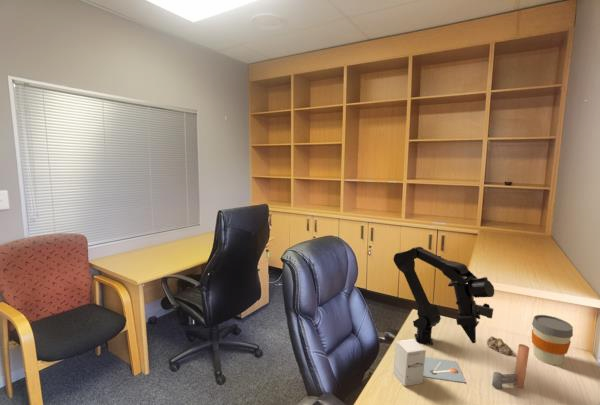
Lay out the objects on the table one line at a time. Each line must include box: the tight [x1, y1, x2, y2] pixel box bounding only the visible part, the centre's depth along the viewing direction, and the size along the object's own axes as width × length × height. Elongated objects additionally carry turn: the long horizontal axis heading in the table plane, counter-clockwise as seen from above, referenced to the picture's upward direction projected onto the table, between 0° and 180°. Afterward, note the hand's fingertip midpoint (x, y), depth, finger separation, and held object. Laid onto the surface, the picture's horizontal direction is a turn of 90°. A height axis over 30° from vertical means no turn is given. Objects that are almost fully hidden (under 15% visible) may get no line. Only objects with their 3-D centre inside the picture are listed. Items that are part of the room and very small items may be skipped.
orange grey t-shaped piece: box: [491, 343, 530, 390], centre depth 110 cm, size 11×3×14 cm, turn 95°
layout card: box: [423, 356, 467, 384], centre depth 119 cm, size 12×14×1 cm
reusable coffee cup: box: [531, 314, 574, 366], centre depth 127 cm, size 13×12×15 cm
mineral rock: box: [486, 335, 513, 356], centre depth 134 cm, size 11×4×8 cm
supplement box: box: [392, 338, 427, 387], centre depth 113 cm, size 7×7×13 cm
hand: (474, 343), depth 118 cm, fingers closed
